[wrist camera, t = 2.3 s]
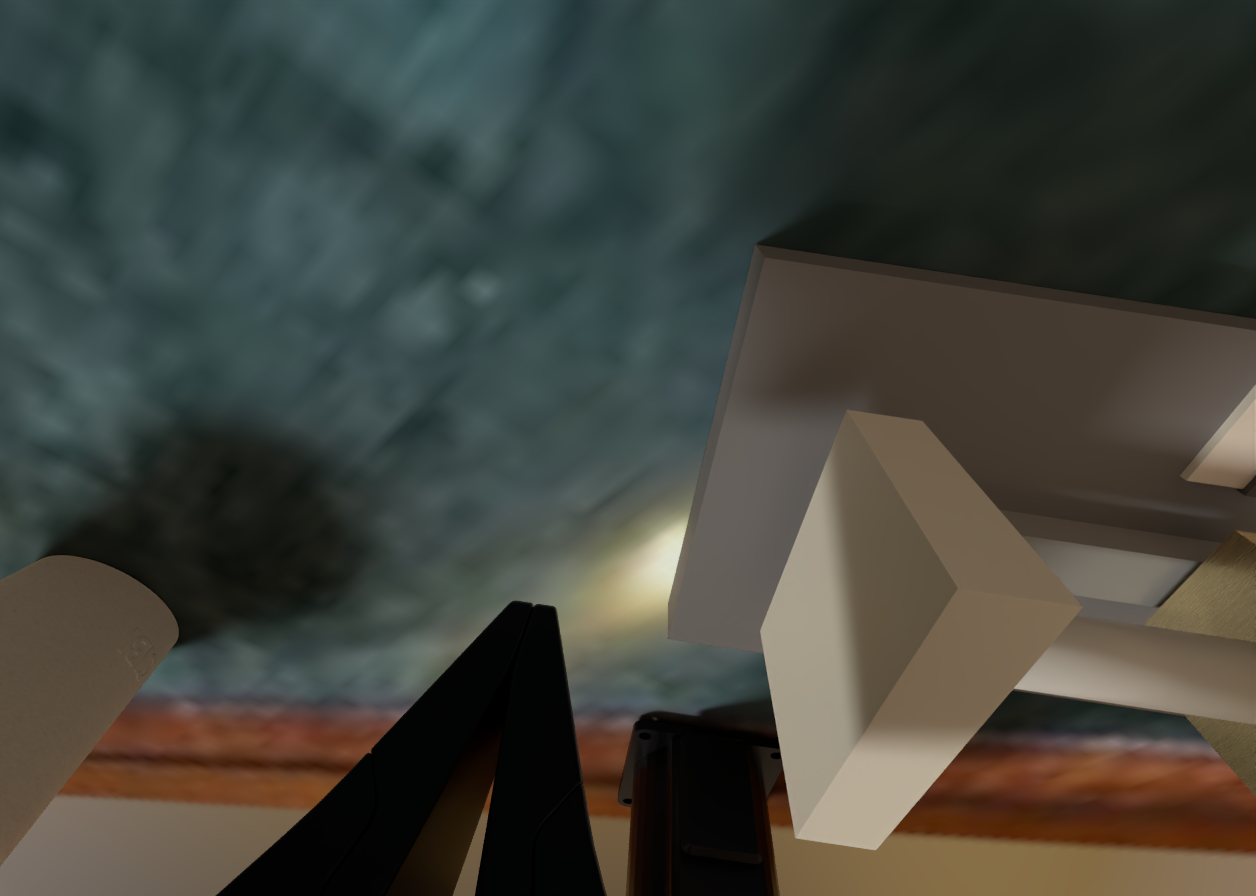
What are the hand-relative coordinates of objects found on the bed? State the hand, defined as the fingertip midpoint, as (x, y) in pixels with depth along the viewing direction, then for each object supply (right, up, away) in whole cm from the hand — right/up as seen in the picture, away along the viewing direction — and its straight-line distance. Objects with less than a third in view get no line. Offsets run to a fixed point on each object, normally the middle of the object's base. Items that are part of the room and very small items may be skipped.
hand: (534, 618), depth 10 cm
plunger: (+10, 0, +3) cm, 11 cm away
